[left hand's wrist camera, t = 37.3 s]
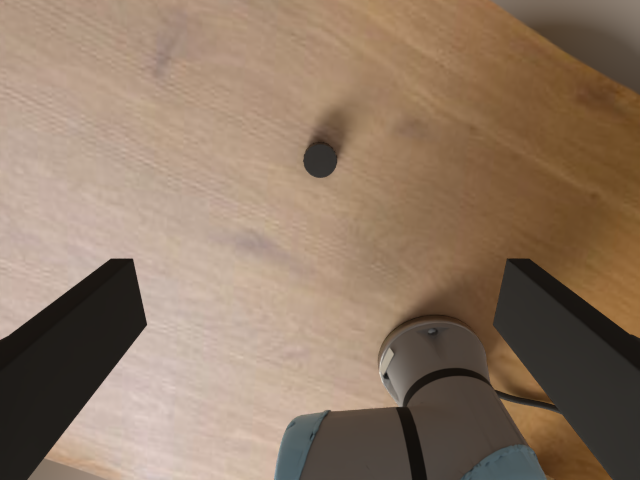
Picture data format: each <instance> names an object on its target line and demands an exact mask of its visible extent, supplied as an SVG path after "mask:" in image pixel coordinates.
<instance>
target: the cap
mask: <svg viewBox="0 0 640 480" xmlns="http://www.w3.org/2000/svg"><path fill="white" fill-rule="evenodd" d="M303 162H304V167H305V169H306V170H307V172H308V173H309V174H310V175H312V176H314V177H318V178H323V177H326V176H328V175H330V174H331V173H332V172H333V171H334V169H335V168H336V164H337V156H336V154H335V151H334V150H333V148H332V147H331V146H330V145H328V144H326V143H324V142H317V143H313V144H312V145H311V146H309V147H308V149H306V152H305V154H304V160H303Z"/></svg>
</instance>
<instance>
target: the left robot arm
mask: <svg viewBox="0 0 640 480" xmlns="http://www.w3.org/2000/svg"><path fill="white" fill-rule="evenodd" d="M146 326H147V322H146V317H145V313H144V308H143V303H142V299H141V294H140V289H139V285H138V280H137V275H136V271H135V266H134V262H133V259H110V260H109V261H107V262H106V263H105V264H103V265H102V266H101V267H99V268H98V269H97V270H95V271H94V272H93V273H91V274H90V275H89V276H87V277H86V278H85V279H83V280H82V281H81V282H79V283H78V284H77V285H75V286H74V287H73V288H71V289H70V290H69V291H67V292H66V293H65V294H63V295H62V296H61V297H59V298H58V299H57V300H55V301H54V302H53V303H51V304H50V305H49V306H47V307H46V308H45V309H43V310H42V311H41V312H39V313H38V314H37V315H35V316H34V317H33V318H31V319H30V320H29V321H27V322H26V323H25V324H23V325H22V326H21V327H19V328H18V329H17V330H15V331H14V332H13V333H11V334H10V335H9V336H7V337H5V338H3V339H1V340H0V480H27V479H28V478H29V477H30V475H31V474H32V473H33V471H34V470H35V469H36V468H37V466H38V465H39V464H40V462H41V461H42V460H43V459H44V457H45V456H46V455H47V453H48V452H49V451H50V450H51V448H52V447H53V446H54V444H55V443H56V442H57V440H58V439H59V438H60V437H61V435H62V434H63V433H64V431H65V430H66V429H67V428H68V426H69V425H70V424H71V422H72V421H73V420H74V419H75V417H76V416H77V415H78V413H79V412H80V411H81V409H82V408H83V407H84V406H85V404H86V403H87V402H88V400H89V399H90V398H91V397H92V395H93V394H94V393H95V391H96V390H97V389H98V388H99V386H100V385H101V384H102V382H103V381H104V380H105V379H106V377H107V376H108V375H109V373H110V372H111V371H112V369H113V368H114V367H115V366H116V364H117V363H118V362H119V360H120V359H121V358H122V357H123V355H124V354H125V353H126V351H127V350H128V349H129V348H130V346H131V345H132V344H133V342H134V341H135V340H136V338H137V337H138V336H139V335H140V333H141V332H142V331H143V329H144V328H145V327H146ZM493 326H494V327H495V328H496V329H497V331H498V332H499V333H500V335H501V336H502V337H503V338H504V340H505V341H506V342H507V344H508V345H509V346H510V348H511V349H512V350H513V351H514V353H515V354H516V355H517V357H518V358H519V359H520V360H521V362H522V363H523V364H524V366H525V367H526V368H527V369H528V371H529V372H530V373H531V375H532V376H533V377H534V379H535V380H536V381H537V382H538V384H539V385H540V386H541V388H542V389H543V390H544V391H545V393H546V394H547V395H548V397H549V398H550V399H551V400H552V402H553V403H554V404H555V405H552V404H549V403H545V402H540V401H535V400H530V399H524V398H520V397H516V396H512V395H508V394H505V393H503V392H500V391H497V390H494V389H493V387H492V385H491V384H490V378H489V372H488V366H487V361H486V353H485V350H484V347H483V345H482V343H481V341H480V340H479V338H478V337H477V335H476V334H475V333H474V331H473V330H472V329H471V328H470V327H469V326H468V325H466V324H465V323H463V322H461V321H459V320H457V319H455V318H452V317H448V316H441V315H430V316H422V317H418V318H415V319H412V320H410V321H407V322H405V323H403V324H402V325H400V326H399V327H397V328H396V329H395V330H393V331H392V332H391V333H390V334H389V335H388V337H387V338H386V339H385V341H384V342H383V344H382V346H381V348H380V351H379V355H378V367H379V372H380V376H381V380H382V382H383V385H384V386H385V388H386V389H387V391H388V392H389V393H390V395H391V396H392V398H393V399H394V400H395V402H396V403H397V404H398V406H399V407H389V408H376V409H362V410H348V411H333V412H331V410H326V411H324V412H322V413H314V414H307V415H301V416H298V417H296V418H294V419H293V420H292V421H291V422H290V424H289V425H288V427H287V429H286V431H285V433H284V435H283V438H282V442H281V445H280V449H279V453H278V458H277V464H276V470H275V476H274V480H547V478H546V476H545V474H544V472H543V470H542V468H541V466H540V464H539V462H538V459H537V456H536V454H535V452H534V451H533V450H532V449H531V448H530V447H529V445H528V444H527V442H526V441H525V439H524V437H523V436H522V434H521V432H520V431H519V429H518V428H517V426H516V424H515V423H514V421H513V419H512V418H511V416H510V415H509V413H508V411H507V410H506V408H505V406H504V405H503V403H502V402H501V400H500V398H501V399H504V400H507V401H511V402H514V403H519V404H524V405H529V406H534V407H540V408H544V409H548V410H551V411H554V412H557V413H560V414H562V415H563V416H564V417H565V419H566V420H567V421H568V422H569V424H570V425H571V426H572V428H573V429H574V430H575V431H576V433H577V434H578V435H579V437H580V438H581V439H582V440H583V442H584V443H585V444H586V446H587V447H588V448H589V450H590V451H591V452H592V453H593V455H594V456H595V457H596V459H597V460H598V461H599V462H600V464H601V465H602V466H603V468H604V469H605V470H606V471H607V473H608V474H609V475H610V477H611V478H612V479H613V480H640V338H638V337H636V336H634V335H630V334H629V333H627V332H626V331H625V330H623V329H622V328H621V327H619V326H618V325H617V324H615V323H614V322H613V321H611V320H610V319H609V318H607V317H606V316H605V315H603V314H602V313H601V312H599V311H598V310H597V309H595V308H594V307H593V306H591V305H590V304H589V303H587V302H586V301H585V300H583V299H582V298H581V297H579V296H578V295H577V294H575V293H574V292H573V291H571V290H570V289H569V288H567V287H566V286H565V285H563V284H562V283H561V282H559V281H558V280H557V279H555V278H554V277H553V276H551V275H550V274H549V273H547V272H546V271H545V270H543V269H542V268H541V267H539V266H538V265H537V264H535V263H534V262H533V261H531V260H530V259H507V262H506V266H505V271H504V275H503V280H502V285H501V289H500V294H499V299H498V303H497V308H496V313H495V317H494V322H493Z"/></svg>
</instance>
